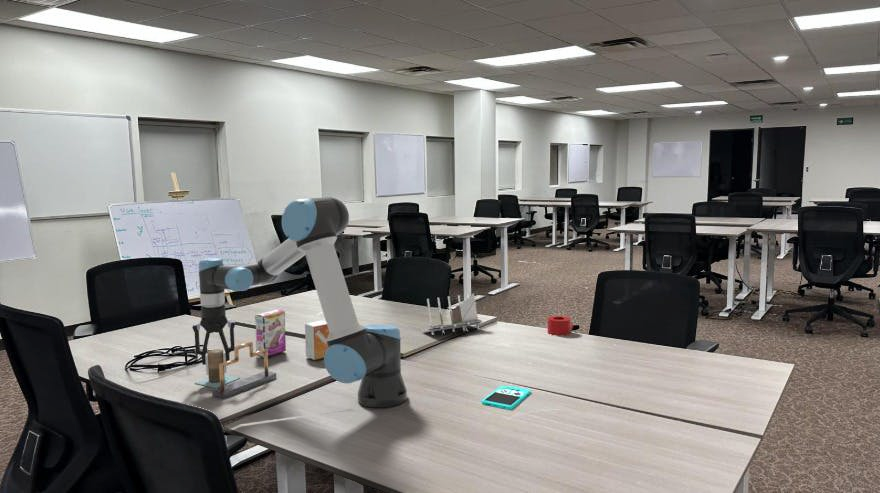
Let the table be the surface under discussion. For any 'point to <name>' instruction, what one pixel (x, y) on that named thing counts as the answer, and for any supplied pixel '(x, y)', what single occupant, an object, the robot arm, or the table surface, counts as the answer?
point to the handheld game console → (506, 397)
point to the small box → (316, 339)
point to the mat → (216, 385)
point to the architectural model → (457, 315)
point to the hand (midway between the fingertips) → (216, 372)
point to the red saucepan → (559, 325)
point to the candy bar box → (270, 332)
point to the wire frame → (247, 382)
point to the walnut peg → (215, 364)
